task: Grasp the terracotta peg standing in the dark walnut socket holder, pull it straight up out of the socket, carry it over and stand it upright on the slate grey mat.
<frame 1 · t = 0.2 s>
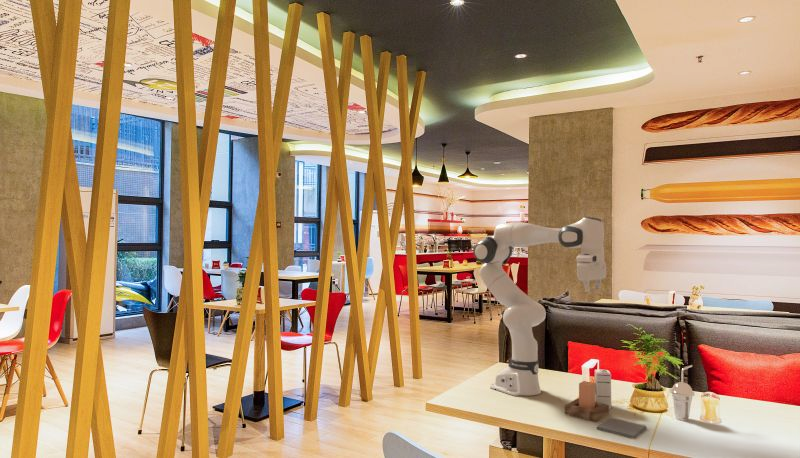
hand: (592, 291, 223), 47 cm above the table, tool pointing down, fingers open, 8 cm apart
syrup box: (602, 407, 223), on the table
slate mat: (621, 428, 199), on the table
cup with straw: (682, 419, 210), on the table
terracotta peg: (586, 414, 215), resting in socket holder
socket holder: (586, 413, 215), on the table
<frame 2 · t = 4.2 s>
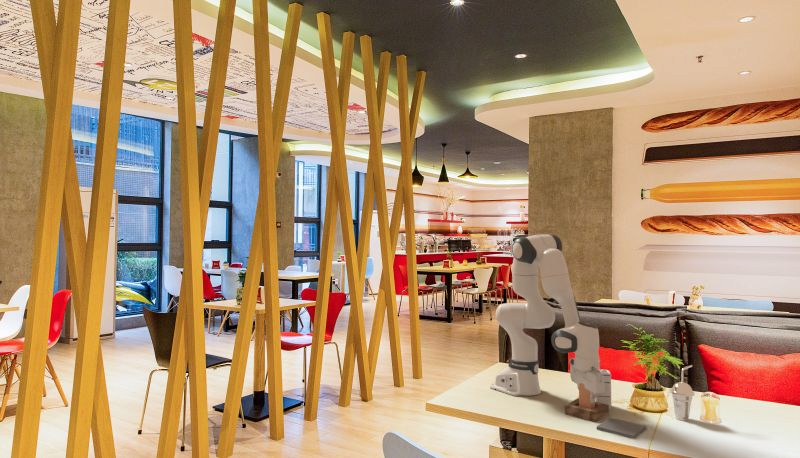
hand: (586, 399, 215), 6 cm above the table, tool pointing down, fingers closed on terracotta peg, 6 cm apart
terracotta peg: (586, 414, 215), resting in socket holder, touching gripper
everything else where it was.
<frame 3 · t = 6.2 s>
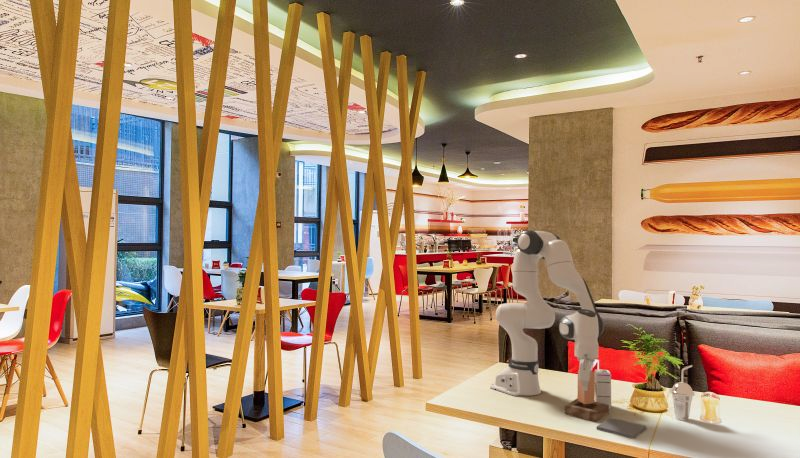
hand: (586, 387, 215), 10 cm above the table, tool pointing down, fingers closed on terracotta peg, 6 cm apart
terracotta peg: (585, 401, 215), point 5 cm above the table, touching gripper
everything else where it was.
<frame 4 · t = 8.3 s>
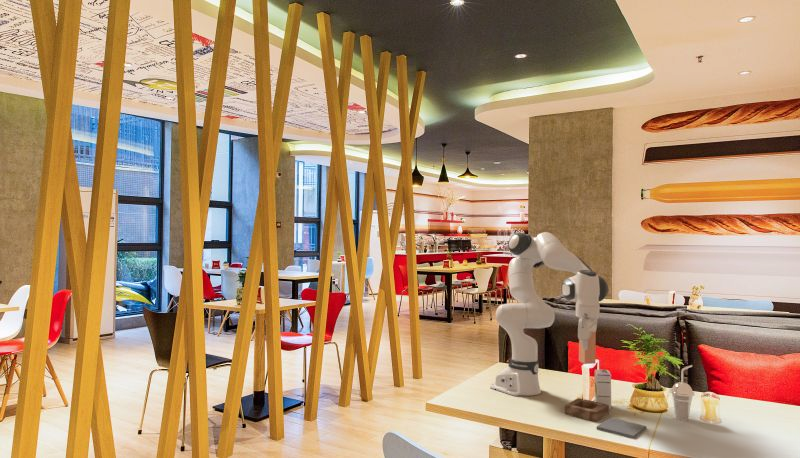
hand: (587, 347, 215), 26 cm above the table, tool pointing down, fingers closed on terracotta peg, 6 cm apart
terracotta peg: (587, 362, 215), point 20 cm above the table, touching gripper
everything else where it was.
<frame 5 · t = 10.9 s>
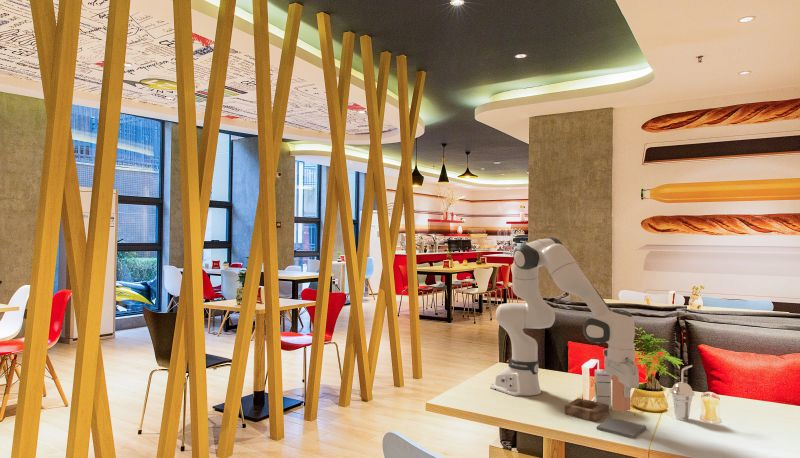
hand: (621, 393, 198), 13 cm above the table, tool pointing down, fingers closed on terracotta peg, 6 cm apart
terracotta peg: (621, 409, 198), point 7 cm above the table, touching gripper
everything else where it was.
when the fingers open (8 cm above the table, at t = 12.8 s): terracotta peg drops 1 cm, resting on slate mat.
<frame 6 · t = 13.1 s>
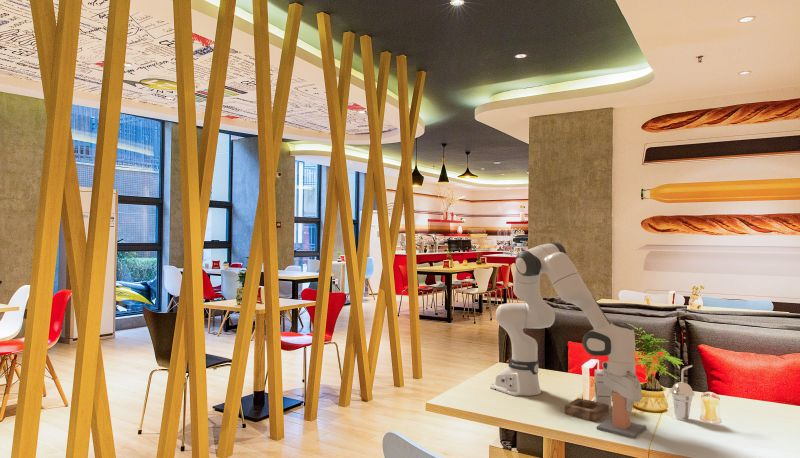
hand: (621, 406, 199), 8 cm above the table, tool pointing down, fingers open, 8 cm apart
terracotta peg: (621, 426, 199), point 1 cm above the table, touching slate mat
everything else where it was.
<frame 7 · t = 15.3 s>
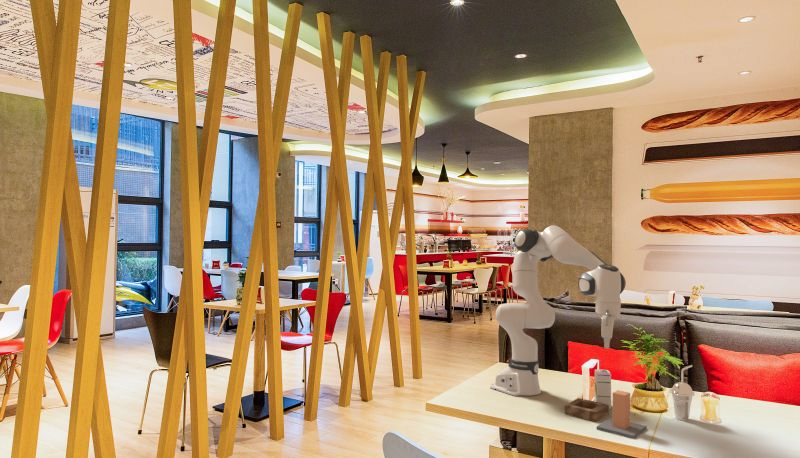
hand: (607, 344, 207), 28 cm above the table, tool pointing down, fingers open, 8 cm apart
nothing on the table moved.
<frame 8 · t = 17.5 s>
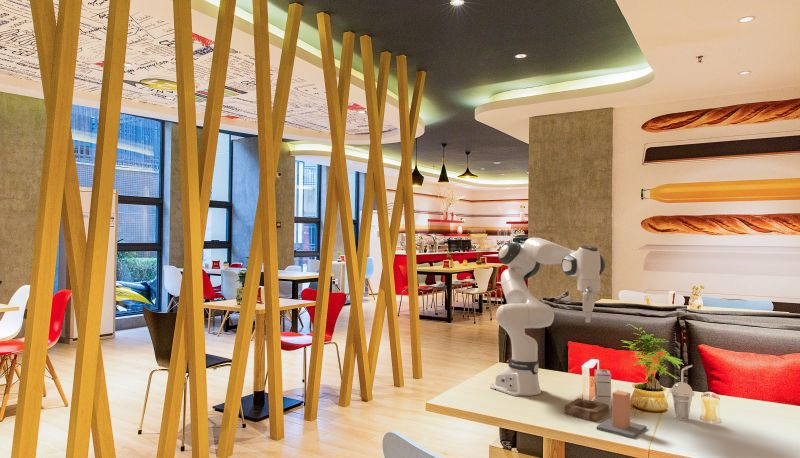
hand: (588, 320, 222), 35 cm above the table, tool pointing down, fingers open, 8 cm apart
nothing on the table moved.
at the end: terracotta peg inside the target area on the slate mat (0.1 cm from its centre), point 1.0 cm above the slate mat's base; terracotta peg tilted 0°; the gripper is holding nothing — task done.
